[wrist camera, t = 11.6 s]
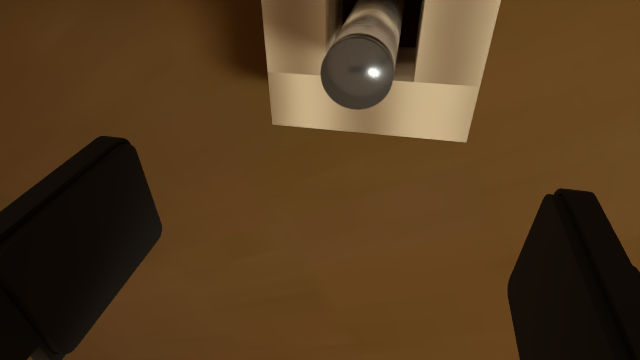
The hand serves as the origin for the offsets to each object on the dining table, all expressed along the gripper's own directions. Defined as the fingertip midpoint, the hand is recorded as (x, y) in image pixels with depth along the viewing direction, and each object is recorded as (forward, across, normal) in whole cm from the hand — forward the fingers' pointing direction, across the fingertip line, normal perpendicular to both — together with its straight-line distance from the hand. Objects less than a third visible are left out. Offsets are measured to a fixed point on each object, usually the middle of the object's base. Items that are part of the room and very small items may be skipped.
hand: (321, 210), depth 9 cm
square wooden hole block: (+21, +1, 0) cm, 21 cm away
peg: (+21, +1, 0) cm, 21 cm away
